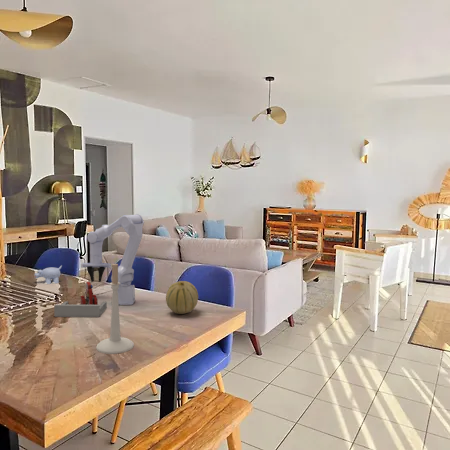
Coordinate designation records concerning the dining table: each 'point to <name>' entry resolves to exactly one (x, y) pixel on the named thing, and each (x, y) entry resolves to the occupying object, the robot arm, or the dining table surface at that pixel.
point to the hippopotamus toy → (49, 274)
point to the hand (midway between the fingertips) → (96, 281)
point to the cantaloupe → (182, 297)
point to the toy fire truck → (89, 296)
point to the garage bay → (78, 310)
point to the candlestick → (115, 324)
